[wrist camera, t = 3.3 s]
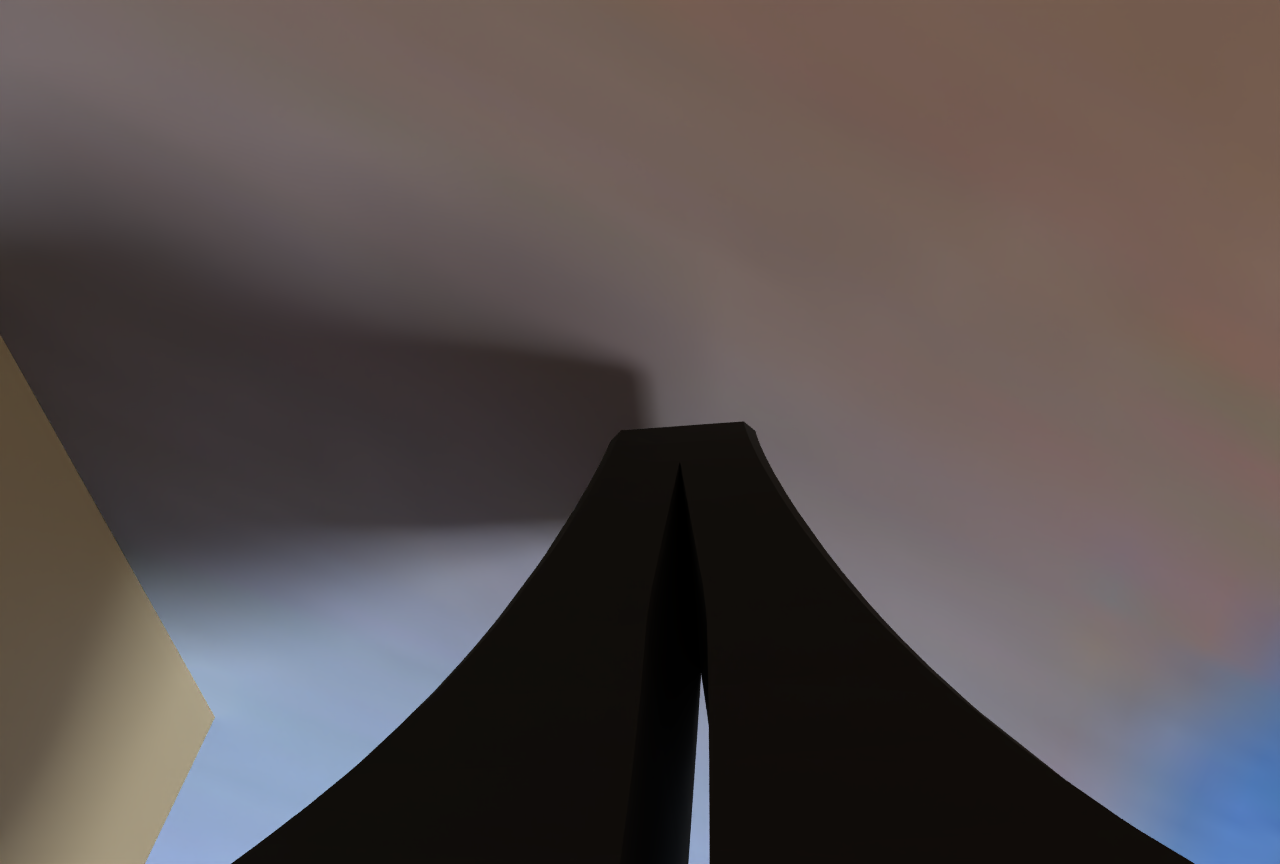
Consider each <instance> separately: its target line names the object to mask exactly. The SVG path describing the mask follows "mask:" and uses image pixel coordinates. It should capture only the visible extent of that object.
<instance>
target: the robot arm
mask: <svg viewBox="0 0 1280 864" xmlns="http://www.w3.org/2000/svg"><path fill="white" fill-rule="evenodd" d="M701 675H702V682H703V689H704V696H705V702H706V709H707V716H708V723H709V802H710V864H1194V863H1193V862H1191V861H1189V860H1188V859H1186V858H1184V857H1183V856H1181V855H1179V854H1178V853H1176V852H1174V851H1173V850H1171V849H1169V848H1168V847H1166V846H1164V845H1163V844H1161V843H1159V842H1158V841H1156V840H1155V839H1153V838H1151V837H1150V836H1148V835H1146V834H1145V833H1143V832H1141V831H1140V830H1138V829H1136V828H1135V827H1133V826H1132V825H1130V824H1129V823H1127V822H1126V821H1124V820H1123V819H1121V818H1120V817H1118V816H1117V815H1115V814H1114V813H1112V812H1111V811H1109V810H1108V809H1107V808H1105V807H1104V806H1102V805H1101V804H1099V803H1098V802H1097V801H1095V800H1094V799H1092V798H1091V797H1089V796H1088V795H1086V794H1085V793H1084V792H1082V791H1081V790H1079V789H1078V788H1076V787H1075V786H1073V785H1072V784H1071V783H1069V782H1068V781H1066V780H1065V779H1064V778H1062V777H1061V776H1060V775H1059V774H1057V773H1056V772H1055V771H1053V770H1052V769H1051V768H1050V767H1048V766H1047V765H1046V764H1045V763H1043V762H1042V761H1041V760H1040V759H1038V758H1037V757H1036V756H1035V755H1033V754H1032V753H1031V752H1029V751H1028V750H1027V749H1026V748H1024V747H1023V746H1022V745H1021V744H1019V743H1018V742H1017V741H1016V740H1014V739H1013V738H1012V737H1011V736H1009V735H1008V734H1007V733H1006V732H1004V731H1003V730H1002V729H1000V728H999V727H998V726H997V725H995V724H994V723H993V722H992V721H990V720H989V719H988V718H987V717H985V716H984V715H983V714H982V713H980V712H979V711H978V710H977V709H976V708H974V707H973V706H972V705H971V704H970V703H969V702H968V701H967V700H965V699H964V698H963V697H962V696H961V695H960V694H959V693H958V692H957V691H956V690H955V689H953V688H952V687H951V686H950V685H949V684H948V683H947V682H946V681H945V680H944V679H942V678H941V677H940V676H939V675H938V674H937V673H936V672H935V671H934V670H933V669H931V668H930V667H929V666H928V665H927V664H926V663H925V662H924V661H923V660H922V659H921V658H920V657H919V656H918V655H917V654H916V653H915V652H914V651H913V650H912V649H911V648H910V647H909V646H908V645H907V644H906V643H905V642H904V641H903V640H902V639H901V638H900V637H899V636H898V635H897V634H896V633H895V631H894V630H893V629H892V628H891V627H890V626H889V625H888V624H887V623H886V622H885V621H884V620H883V619H882V618H881V616H880V615H879V614H878V613H877V612H876V611H875V610H874V609H873V607H872V606H871V605H870V604H869V603H868V602H867V601H866V600H865V598H864V597H863V596H862V595H861V594H860V592H859V591H858V590H857V589H856V588H855V586H854V585H853V584H852V583H851V582H850V580H849V579H848V578H847V577H846V576H845V574H844V573H843V572H842V571H841V570H840V568H839V567H838V566H837V564H836V563H835V562H834V561H833V559H832V558H831V557H830V555H829V554H828V553H827V552H826V550H825V549H824V548H823V546H822V545H821V543H820V542H819V541H818V539H817V538H816V536H815V535H814V534H813V532H812V531H811V529H810V528H809V527H808V525H807V524H806V522H805V521H804V519H803V518H802V517H801V515H800V514H799V512H798V511H797V509H796V508H795V506H794V505H793V503H792V502H791V500H790V499H789V497H788V496H787V494H786V492H785V491H784V489H783V487H782V486H781V484H780V482H779V480H778V479H777V477H776V475H775V474H774V472H773V470H772V468H771V466H770V465H769V463H768V461H767V459H766V457H765V455H764V453H763V450H762V448H761V446H760V443H759V441H758V438H757V435H756V432H755V430H753V429H752V428H751V427H750V426H749V425H747V424H746V423H745V422H730V423H716V424H703V425H689V426H675V427H662V428H648V429H634V430H621V431H620V432H619V433H618V434H617V435H616V436H615V437H614V438H613V439H612V440H611V442H610V444H609V446H608V449H607V451H606V453H605V455H604V457H603V459H602V461H601V463H600V465H599V467H598V469H597V471H596V472H595V474H594V476H593V478H592V480H591V482H590V483H589V485H588V487H587V489H586V490H585V492H584V494H583V495H582V497H581V499H580V501H579V502H578V504H577V506H576V508H575V509H574V511H573V512H572V514H571V515H570V517H569V519H568V520H567V522H566V523H565V525H564V526H563V528H562V529H561V531H560V533H559V534H558V536H557V537H556V539H555V540H554V542H553V543H552V545H551V547H550V548H549V550H548V551H547V553H546V554H545V556H544V557H543V559H542V560H541V562H540V563H539V564H538V566H537V567H536V569H535V570H534V571H533V573H532V574H531V575H530V577H529V578H528V579H527V581H526V582H525V583H524V585H523V586H522V587H521V589H520V590H519V591H518V593H517V594H516V595H515V597H514V598H513V599H512V601H511V602H510V603H509V605H508V606H507V607H506V609H505V610H504V611H503V613H502V614H501V615H500V617H499V618H498V619H497V620H496V622H495V623H494V624H493V625H492V627H491V628H490V629H489V630H488V631H487V633H486V634H485V635H484V636H483V637H482V639H481V640H480V641H479V642H478V643H477V645H476V646H475V647H474V648H473V649H472V650H471V652H470V653H469V654H468V655H467V656H466V657H465V658H464V660H463V661H462V662H461V663H460V664H459V665H458V666H457V667H456V668H455V669H454V670H453V672H452V673H451V674H450V675H449V676H448V677H447V678H446V679H445V680H444V681H443V682H442V684H441V685H440V686H439V687H438V688H437V689H436V690H435V691H434V692H433V693H432V694H431V695H430V696H429V697H428V698H427V699H426V700H425V701H424V702H423V703H422V704H421V705H420V706H419V707H418V708H417V709H416V710H415V711H414V712H413V713H412V714H411V715H410V716H409V717H408V718H407V719H406V720H405V721H404V722H403V723H402V724H401V725H400V726H399V727H398V728H397V729H395V730H394V731H393V732H392V733H391V734H390V735H389V736H388V737H387V738H386V739H385V740H384V741H383V742H382V743H380V744H379V745H378V746H377V747H376V748H375V749H374V750H373V751H372V752H371V753H370V754H369V755H368V756H366V757H365V758H364V759H363V760H362V761H361V762H360V763H359V764H358V765H357V766H355V767H354V768H353V769H352V770H351V771H350V772H348V773H347V774H346V775H345V776H344V777H342V778H341V779H340V780H339V781H338V782H336V783H335V784H334V785H333V786H331V787H330V788H329V789H328V790H327V791H325V792H324V793H323V794H322V795H320V796H319V797H318V798H317V799H316V800H314V801H313V802H312V803H311V804H309V805H308V806H307V807H306V808H304V809H303V810H302V811H301V812H299V813H298V814H297V815H295V816H294V817H293V818H291V819H290V820H289V821H287V822H286V823H285V824H284V825H282V826H281V827H280V828H278V829H277V830H276V831H274V832H273V833H272V834H271V835H269V836H268V837H267V838H265V839H264V840H263V841H261V842H260V843H259V844H257V845H256V846H255V847H253V848H252V849H251V850H249V851H248V852H246V853H245V854H244V855H242V856H241V857H240V858H238V859H237V860H235V861H234V862H233V863H231V864H688V860H689V846H690V831H691V816H692V802H693V787H694V773H695V758H696V744H697V729H698V714H699V698H700V683H701Z"/></svg>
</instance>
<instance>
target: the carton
mask: <svg viewBox="0 0 1280 864" xmlns="http://www.w3.org/2000/svg"><path fill="white" fill-rule="evenodd" d="M214 718H215V717H214V715H213V713H212V711H211V709H210V708H209V706H208V704H207V702H206V701H205V699H204V697H203V695H202V693H201V692H200V690H199V688H198V686H197V684H196V683H195V681H194V679H193V677H192V676H191V674H190V672H189V670H188V668H187V667H186V665H185V663H184V661H183V660H182V658H181V656H180V654H179V652H178V651H177V649H176V647H175V645H174V643H173V642H172V640H171V638H170V636H169V635H168V633H167V631H166V629H165V627H164V626H163V624H162V622H161V620H160V619H159V617H158V615H157V613H156V611H155V610H154V608H153V606H152V604H151V602H150V601H149V599H148V597H147V595H146V594H145V592H144V590H143V588H142V586H141V585H140V583H139V581H138V579H137V578H136V576H135V574H134V572H133V570H132V569H131V567H130V565H129V563H128V561H127V560H126V558H125V556H124V554H123V553H122V551H121V549H120V547H119V545H118V544H117V542H116V540H115V538H114V536H113V535H112V533H111V531H110V529H109V528H108V526H107V524H106V522H105V520H104V519H103V517H102V515H101V513H100V512H99V510H98V508H97V506H96V504H95V503H94V501H93V499H92V497H91V495H90V494H89V492H88V490H87V488H86V487H85V485H84V483H83V481H82V479H81V478H80V476H79V474H78V472H77V471H76V469H75V467H74V465H73V463H72V462H71V460H70V458H69V456H68V454H67V453H66V451H65V449H64V447H63V446H62V444H61V442H60V440H59V438H58V437H57V435H56V433H55V431H54V430H53V428H52V426H51V424H50V422H49V421H48V419H47V417H46V415H45V413H44V412H43V410H42V408H41V406H40V405H39V403H38V401H37V399H36V397H35V396H34V394H33V392H32V390H31V389H30V387H29V385H28V383H27V381H26V380H25V378H24V376H23V374H22V372H21V371H20V369H19V367H18V365H17V364H16V362H15V360H14V358H13V356H12V355H11V353H10V351H9V349H8V348H7V346H6V344H5V342H4V340H3V339H2V337H1V335H0V864H145V862H146V860H147V858H148V856H149V854H150V852H151V850H152V848H153V846H154V843H155V841H156V839H157V837H158V835H159V833H160V831H161V829H162V827H163V825H164V823H165V820H166V818H167V816H168V814H169V812H170V810H171V808H172V806H173V804H174V802H175V800H176V797H177V795H178V793H179V791H180V789H181V787H182V785H183V783H184V781H185V779H186V777H187V774H188V772H189V770H190V768H191V766H192V764H193V762H194V760H195V758H196V756H197V754H198V751H199V749H200V747H201V745H202V743H203V741H204V739H205V737H206V735H207V733H208V731H209V728H210V726H211V724H212V722H213V720H214Z"/></svg>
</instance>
